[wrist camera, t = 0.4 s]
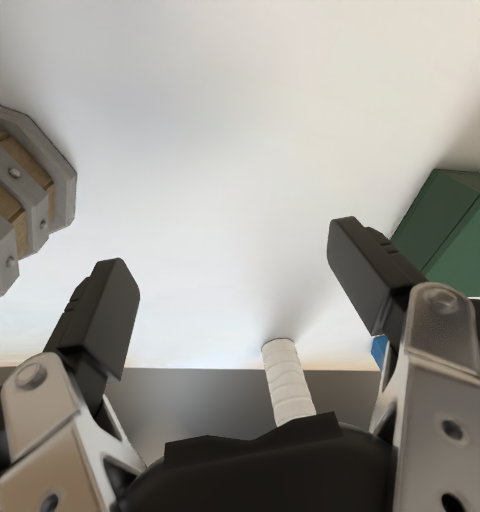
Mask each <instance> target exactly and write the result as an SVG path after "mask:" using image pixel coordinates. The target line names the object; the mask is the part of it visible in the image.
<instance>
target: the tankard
mask: <svg viewBox="0 0 480 512" xmlns="http://www.w3.org/2000/svg"><path fill="white" fill-rule="evenodd" d="M76 182H77V173H76V172H75V171H74V170H73V169H72V167H71V166H70V165H69V164H68V163H67V162H66V160H65V159H64V158H63V157H62V156H61V154H60V153H59V152H58V151H57V150H56V149H55V147H54V146H53V145H52V144H51V143H50V141H49V140H48V139H47V138H46V137H45V136H44V134H43V133H42V132H41V131H40V130H39V128H38V127H37V126H36V125H35V124H34V123H33V121H32V120H31V119H30V118H29V117H28V116H26V115H24V114H21V113H18V112H16V111H13V110H10V109H7V108H5V107H2V106H0V297H1V296H4V294H5V293H6V292H7V291H8V289H9V288H10V287H11V285H12V284H13V283H14V282H15V280H16V279H17V278H18V277H19V266H18V260H21V259H23V258H25V257H28V256H30V255H33V254H35V253H37V252H38V251H39V250H40V249H41V247H42V246H43V245H44V243H45V242H46V241H47V240H48V235H49V234H51V233H54V232H56V231H58V230H61V229H63V228H65V227H68V226H70V224H71V223H72V221H73V220H74V214H75V198H76Z"/></svg>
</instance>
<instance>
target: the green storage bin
mask: <svg viewBox="0 0 480 512" xmlns="http://www.w3.org/2000/svg"><path fill="white" fill-rule="evenodd" d="M479 197H480V173H475V172H463V171H452V170H440V169H434V170H433V171H432V173H431V174H430V176H429V178H428V179H427V181H426V183H425V184H424V186H423V188H422V189H421V191H420V193H419V194H418V196H417V198H416V199H415V201H414V202H413V204H412V206H411V207H410V209H409V211H408V212H407V214H406V216H405V217H404V219H403V221H402V222H401V224H400V225H399V227H398V229H397V230H396V232H395V234H394V235H393V237H392V239H391V240H390V242H391V245H392V244H393V245H394V246H395V247H396V248H397V249H398V250H399V252H401V253H402V254H403V255H404V256H405V257H406V258H407V259H408V260H409V261H410V262H411V263H412V264H413V265H414V266H415V267H416V268H417V269H418V270H419V271H420V272H421V271H422V270H423V269H424V267H425V266H426V265H427V264H428V262H429V261H430V260H431V258H432V257H433V256H434V255H435V253H436V252H437V251H438V249H439V248H440V247H441V246H442V244H443V243H444V242H445V240H446V239H447V238H448V237H449V235H450V234H451V233H452V231H453V230H454V229H455V228H456V226H457V225H458V224H459V222H460V221H461V220H462V218H463V217H464V216H465V215H466V213H467V212H468V211H469V209H470V208H471V207H472V206H473V204H474V203H475V202H476V200H477V199H478V198H479Z"/></svg>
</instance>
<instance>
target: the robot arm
mask: <svg viewBox="0 0 480 512" xmlns="http://www.w3.org/2000/svg"><path fill="white" fill-rule="evenodd" d="M327 259H328V263H329V265H330V267H331V269H332V271H333V272H334V274H335V276H336V277H337V279H338V281H339V282H340V284H341V286H342V288H343V289H344V291H345V293H346V294H347V296H348V298H349V299H350V301H351V303H352V304H353V306H354V308H355V309H356V311H357V313H358V314H359V316H360V318H361V319H362V321H363V323H364V324H365V326H366V328H367V329H368V331H369V333H370V334H371V336H376V335H381V334H385V336H386V338H387V339H388V343H387V347H386V352H385V358H384V364H383V370H382V376H381V382H380V387H379V393H378V398H377V402H376V405H375V408H374V411H373V415H372V419H371V424H370V429H369V432H368V431H366V430H364V429H361V428H359V427H356V426H353V425H349V424H345V423H339V422H338V421H337V418H336V416H335V413H334V411H333V412H328V413H323V414H317V415H312V416H307V417H301V418H296V419H292V420H290V421H288V422H286V423H285V424H283V425H281V426H279V427H277V428H275V429H273V430H272V431H270V432H268V433H266V434H264V435H262V436H260V437H258V438H257V439H254V440H250V441H248V440H240V439H232V438H225V437H217V436H209V435H206V436H200V437H195V438H189V439H184V440H179V441H173V442H168V443H165V453H164V456H163V457H161V458H160V459H158V460H157V461H155V462H154V463H152V464H151V465H150V466H149V467H147V466H146V464H145V463H144V461H143V460H142V458H141V457H140V456H139V454H138V453H137V452H136V451H135V450H134V448H133V447H132V445H131V444H130V442H129V440H128V438H127V437H126V435H125V433H124V431H123V429H122V427H121V425H120V423H119V421H118V419H117V417H116V415H115V413H114V411H113V409H112V407H111V405H110V403H109V401H108V399H107V397H106V396H105V395H104V390H105V387H106V384H110V383H115V382H120V380H121V376H122V372H123V368H124V364H125V360H126V355H127V351H128V347H129V343H130V339H131V335H132V330H133V326H134V322H135V318H136V314H137V310H138V306H139V301H140V292H139V288H138V285H137V283H136V282H135V280H134V278H133V276H132V275H131V273H130V271H129V269H128V268H127V266H126V264H125V262H124V261H123V260H122V259H121V258H114V259H109V260H103V261H99V262H97V263H96V265H95V267H94V269H93V271H92V273H91V275H90V277H86V278H85V279H84V280H83V281H82V282H81V283H80V284H79V285H78V286H77V287H76V289H75V291H74V292H73V294H72V296H71V298H70V300H69V301H70V303H68V304H67V306H66V308H65V310H64V311H65V312H64V313H63V314H62V315H61V317H60V319H59V321H58V323H57V325H56V327H55V329H54V331H53V333H52V335H51V337H50V338H49V340H48V342H47V344H46V346H45V348H44V350H43V352H42V353H39V354H37V355H34V356H32V357H30V358H29V359H27V360H26V361H24V362H23V363H21V364H20V365H19V366H18V367H17V368H16V369H15V370H14V371H13V372H12V373H11V374H10V375H9V377H8V378H7V380H6V381H5V383H4V385H2V386H0V512H480V300H479V299H469V298H468V297H467V296H466V295H464V294H463V293H462V292H460V291H459V290H457V289H455V288H453V287H451V286H448V285H445V284H442V283H436V282H430V281H429V280H428V279H427V278H426V277H425V276H424V275H423V274H422V273H421V272H420V271H419V270H418V269H417V268H416V267H415V266H414V265H413V264H412V263H411V262H410V261H409V260H408V259H407V258H406V257H405V256H404V255H403V254H402V253H401V252H399V250H398V249H397V248H396V247H395V246H394V245H393V244H392V245H391V242H390V241H389V240H388V239H387V238H386V237H385V236H384V235H383V234H382V233H380V232H378V231H376V230H375V229H373V228H371V227H363V226H362V224H361V223H360V222H359V221H358V220H357V219H356V218H355V217H354V216H350V217H344V218H339V219H333V220H331V222H330V227H329V235H328V244H327Z"/></svg>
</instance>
